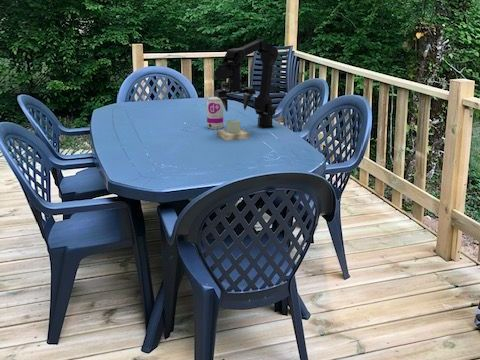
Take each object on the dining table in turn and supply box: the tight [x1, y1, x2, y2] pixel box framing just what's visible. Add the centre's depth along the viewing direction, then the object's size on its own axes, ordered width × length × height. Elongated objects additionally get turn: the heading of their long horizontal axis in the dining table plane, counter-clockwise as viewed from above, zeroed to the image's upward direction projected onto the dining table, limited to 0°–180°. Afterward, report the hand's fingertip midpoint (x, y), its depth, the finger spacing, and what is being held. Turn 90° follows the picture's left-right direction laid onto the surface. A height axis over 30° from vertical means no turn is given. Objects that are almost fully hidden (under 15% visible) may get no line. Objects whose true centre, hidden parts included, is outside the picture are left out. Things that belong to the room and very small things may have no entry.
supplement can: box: [206, 96, 224, 130], centre depth 285 cm, size 8×8×15 cm
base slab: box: [216, 127, 251, 142], centre depth 268 cm, size 12×12×3 cm
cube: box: [225, 119, 241, 133], centre depth 267 cm, size 5×5×5 cm
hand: (235, 110), depth 270 cm, fingers open, 9 cm apart
